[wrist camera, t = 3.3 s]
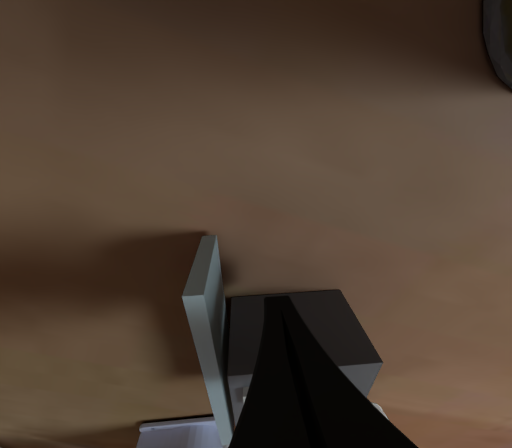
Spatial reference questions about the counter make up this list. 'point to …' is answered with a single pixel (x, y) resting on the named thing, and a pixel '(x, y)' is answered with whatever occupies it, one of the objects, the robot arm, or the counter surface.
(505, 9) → the canister
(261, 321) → the camera body
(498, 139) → the counter surface
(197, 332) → the side door
